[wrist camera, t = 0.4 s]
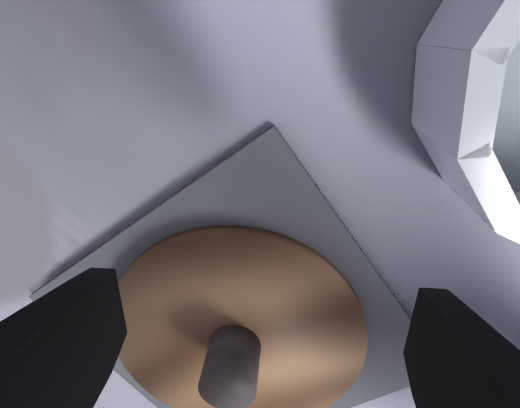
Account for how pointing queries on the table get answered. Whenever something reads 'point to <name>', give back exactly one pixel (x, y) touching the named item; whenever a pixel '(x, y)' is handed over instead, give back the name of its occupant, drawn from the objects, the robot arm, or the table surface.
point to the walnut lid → (240, 322)
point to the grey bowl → (473, 105)
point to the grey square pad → (280, 221)
